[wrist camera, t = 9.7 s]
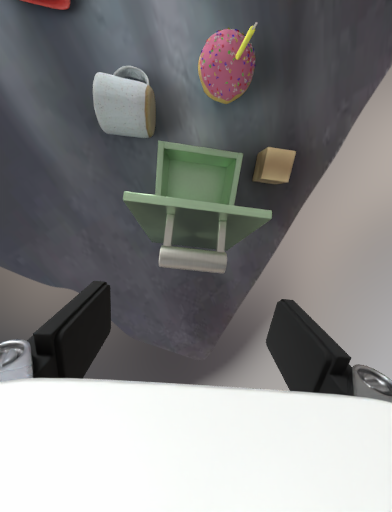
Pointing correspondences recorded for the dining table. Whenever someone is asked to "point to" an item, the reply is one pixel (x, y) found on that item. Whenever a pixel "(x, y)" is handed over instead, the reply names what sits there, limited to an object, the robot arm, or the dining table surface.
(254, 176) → the block
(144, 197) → the lid
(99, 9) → the dining table surface
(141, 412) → the robot arm
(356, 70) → the dining table surface
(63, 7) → the butter dish
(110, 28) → the dining table surface
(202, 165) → the box
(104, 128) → the ceramic mug
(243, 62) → the cupcake
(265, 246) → the dining table surface
